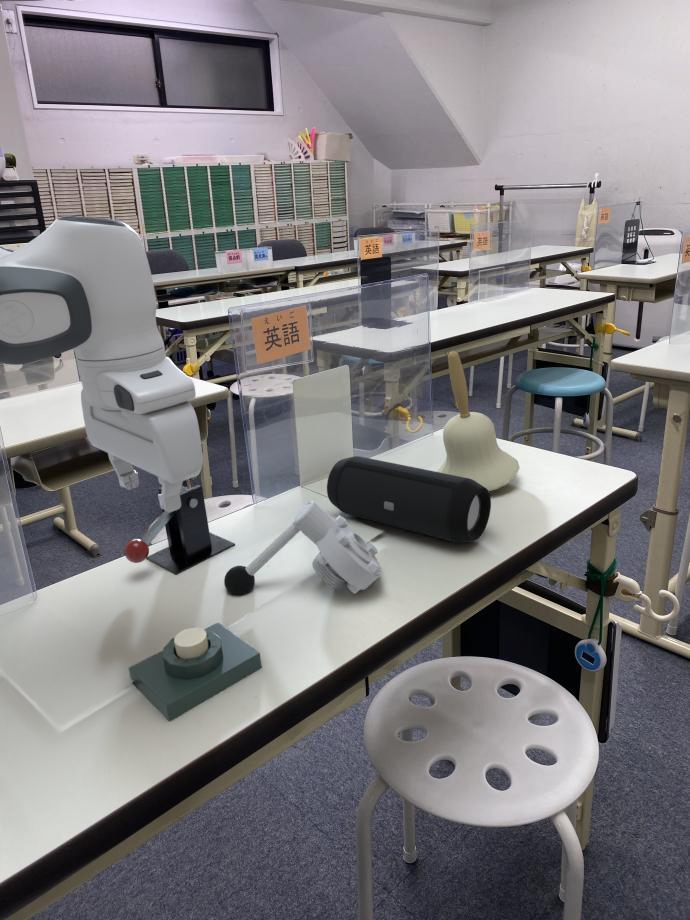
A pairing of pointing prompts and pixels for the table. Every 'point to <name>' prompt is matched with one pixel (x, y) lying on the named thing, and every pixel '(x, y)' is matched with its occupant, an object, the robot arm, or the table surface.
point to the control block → (194, 672)
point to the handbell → (473, 440)
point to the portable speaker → (410, 498)
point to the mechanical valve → (335, 562)
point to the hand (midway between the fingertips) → (149, 497)
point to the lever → (147, 538)
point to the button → (191, 643)
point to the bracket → (189, 535)
